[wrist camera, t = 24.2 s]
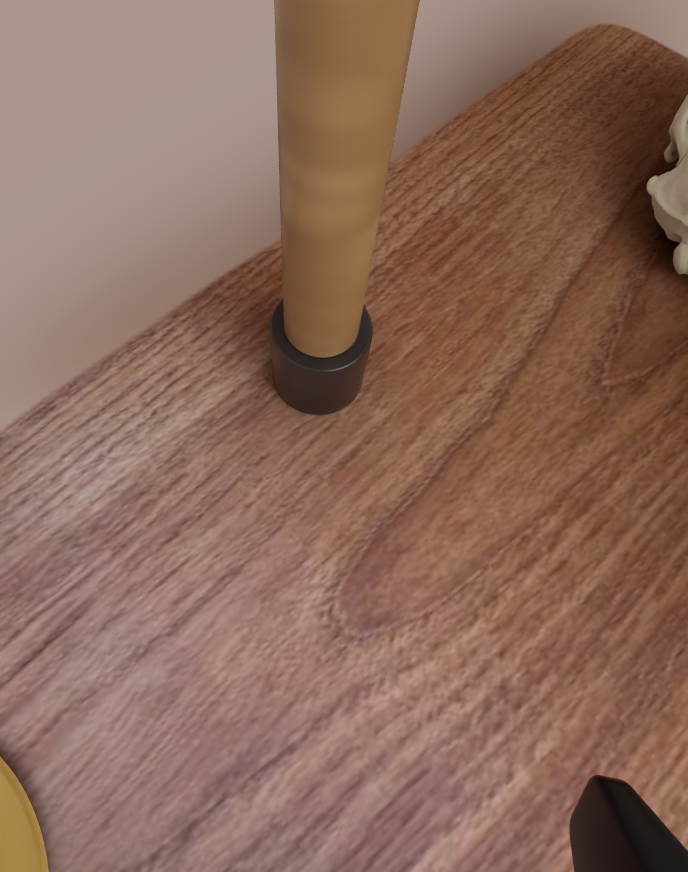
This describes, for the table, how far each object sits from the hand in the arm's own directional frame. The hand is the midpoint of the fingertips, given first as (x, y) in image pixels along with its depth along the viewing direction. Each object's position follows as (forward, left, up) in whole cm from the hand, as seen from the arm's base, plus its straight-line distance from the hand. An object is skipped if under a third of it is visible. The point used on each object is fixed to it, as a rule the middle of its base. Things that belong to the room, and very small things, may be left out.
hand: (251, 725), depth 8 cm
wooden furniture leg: (+9, +7, -12) cm, 17 cm away
